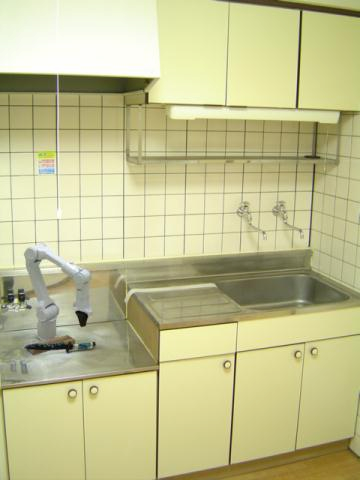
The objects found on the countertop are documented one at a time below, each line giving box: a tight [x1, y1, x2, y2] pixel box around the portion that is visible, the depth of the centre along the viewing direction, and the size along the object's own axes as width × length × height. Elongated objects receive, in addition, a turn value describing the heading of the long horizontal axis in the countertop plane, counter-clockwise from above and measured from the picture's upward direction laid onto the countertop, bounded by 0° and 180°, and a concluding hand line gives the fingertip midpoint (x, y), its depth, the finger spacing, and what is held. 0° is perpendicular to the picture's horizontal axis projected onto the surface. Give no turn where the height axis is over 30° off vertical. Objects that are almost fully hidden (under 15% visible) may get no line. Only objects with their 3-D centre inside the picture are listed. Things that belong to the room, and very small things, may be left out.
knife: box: [24, 341, 97, 354], centre depth 234 cm, size 31×3×4 cm, turn 107°
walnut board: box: [26, 334, 76, 356], centre depth 240 cm, size 7×20×2 cm, turn 129°
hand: (82, 326), depth 240 cm, fingers closed
